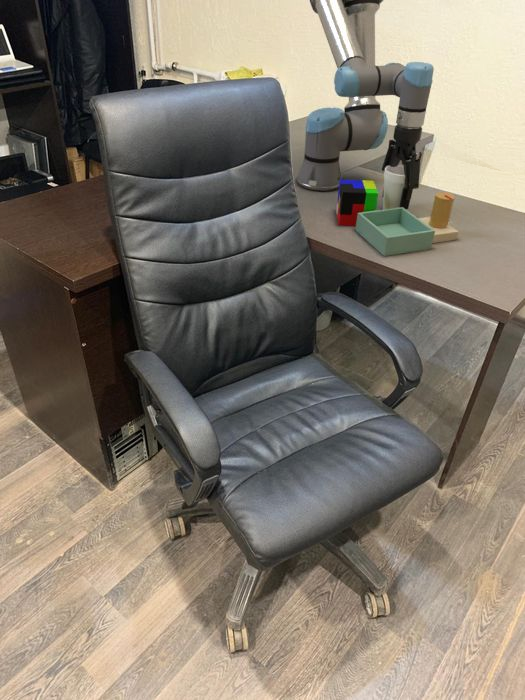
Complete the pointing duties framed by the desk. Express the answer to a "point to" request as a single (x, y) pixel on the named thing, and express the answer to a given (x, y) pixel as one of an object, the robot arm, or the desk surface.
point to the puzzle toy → (355, 200)
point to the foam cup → (393, 186)
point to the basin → (394, 231)
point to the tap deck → (442, 232)
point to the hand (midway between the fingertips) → (394, 202)
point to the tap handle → (441, 210)
